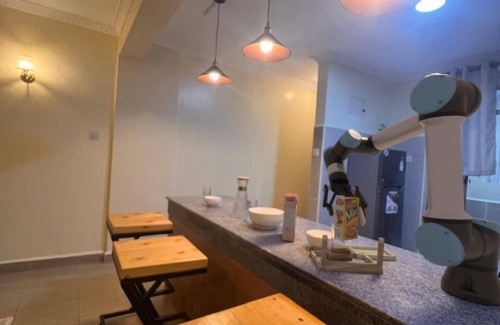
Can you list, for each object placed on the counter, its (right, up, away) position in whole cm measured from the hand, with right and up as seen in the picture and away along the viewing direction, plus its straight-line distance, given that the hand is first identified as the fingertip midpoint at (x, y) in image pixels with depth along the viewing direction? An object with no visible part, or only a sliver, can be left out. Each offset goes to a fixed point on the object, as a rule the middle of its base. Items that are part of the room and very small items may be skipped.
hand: (349, 223), depth 100 cm
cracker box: (-17, -15, +35) cm, 41 cm away
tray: (+14, -16, +16) cm, 27 cm away
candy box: (0, -7, +3) cm, 7 cm away
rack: (-1, -16, +4) cm, 16 cm away
